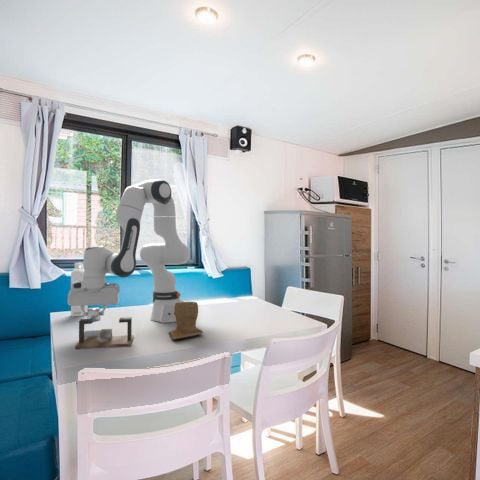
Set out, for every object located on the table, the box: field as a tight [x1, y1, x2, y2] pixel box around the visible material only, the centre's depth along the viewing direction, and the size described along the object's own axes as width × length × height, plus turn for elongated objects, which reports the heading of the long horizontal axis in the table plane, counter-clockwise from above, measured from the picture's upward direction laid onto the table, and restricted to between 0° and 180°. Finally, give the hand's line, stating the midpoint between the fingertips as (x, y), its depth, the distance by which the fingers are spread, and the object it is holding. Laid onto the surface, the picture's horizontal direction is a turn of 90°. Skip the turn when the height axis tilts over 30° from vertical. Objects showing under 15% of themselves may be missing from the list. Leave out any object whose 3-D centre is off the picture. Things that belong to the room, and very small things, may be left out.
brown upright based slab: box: [168, 301, 204, 341], centre depth 141 cm, size 15×12×15 cm
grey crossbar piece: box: [86, 307, 101, 324], centre depth 141 cm, size 12×5×5 cm, turn 12°
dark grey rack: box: [74, 316, 134, 350], centre depth 131 cm, size 20×11×10 cm, turn 102°
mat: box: [84, 329, 102, 337], centre depth 142 cm, size 9×9×1 cm
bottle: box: [70, 261, 89, 317], centre depth 176 cm, size 8×8×28 cm
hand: (93, 315), depth 141 cm, fingers closed on grey crossbar piece, 5 cm apart
